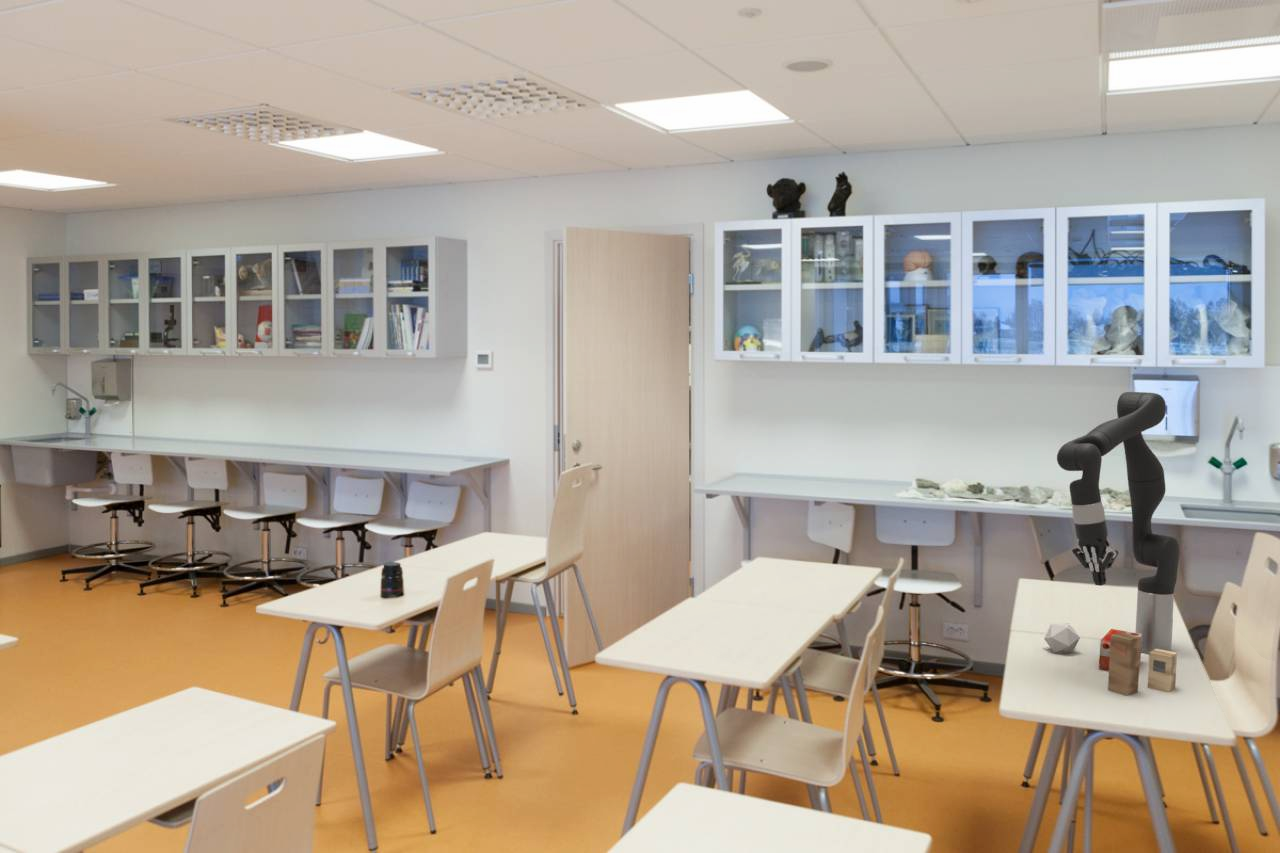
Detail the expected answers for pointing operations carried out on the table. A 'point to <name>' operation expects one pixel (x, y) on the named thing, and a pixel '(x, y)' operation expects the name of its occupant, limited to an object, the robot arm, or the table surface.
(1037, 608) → the table surface
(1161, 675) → the maple block
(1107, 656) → the medicine box
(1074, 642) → the die
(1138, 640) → the walnut block
